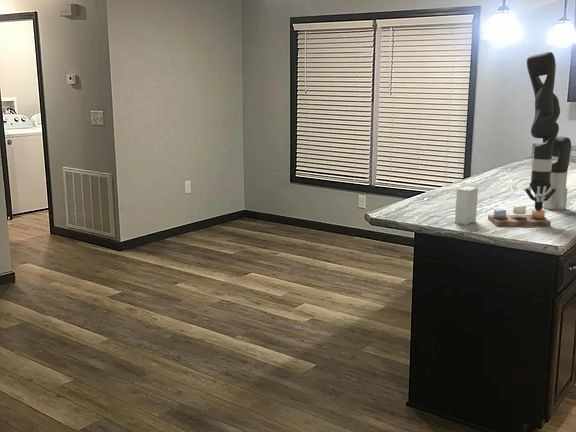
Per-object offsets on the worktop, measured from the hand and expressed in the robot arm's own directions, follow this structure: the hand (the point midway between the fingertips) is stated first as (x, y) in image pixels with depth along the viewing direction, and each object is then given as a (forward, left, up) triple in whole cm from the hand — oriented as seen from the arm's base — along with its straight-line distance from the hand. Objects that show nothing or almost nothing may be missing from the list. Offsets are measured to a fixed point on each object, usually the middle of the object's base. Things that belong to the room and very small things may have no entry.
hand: (538, 210), depth 275 cm
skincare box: (+30, -1, -6) cm, 30 cm away
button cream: (+8, 0, -1) cm, 8 cm away
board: (+8, 0, -5) cm, 9 cm away
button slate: (+16, 0, -3) cm, 16 cm away
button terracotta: (0, 0, -3) cm, 3 cm away
